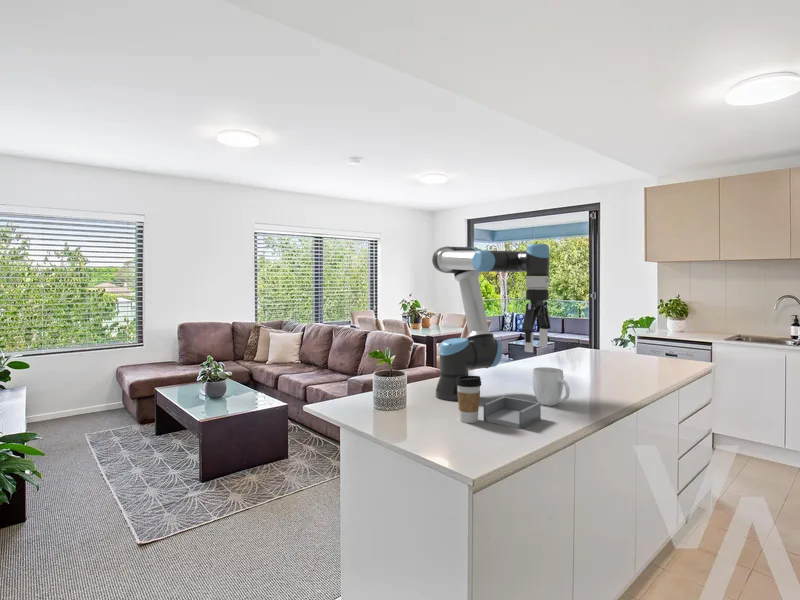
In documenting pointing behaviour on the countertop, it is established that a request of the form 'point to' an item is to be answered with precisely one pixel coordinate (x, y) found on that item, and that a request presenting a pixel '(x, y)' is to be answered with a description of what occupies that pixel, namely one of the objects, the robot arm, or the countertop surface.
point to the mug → (549, 385)
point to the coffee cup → (468, 397)
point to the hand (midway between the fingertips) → (536, 349)
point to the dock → (512, 412)
